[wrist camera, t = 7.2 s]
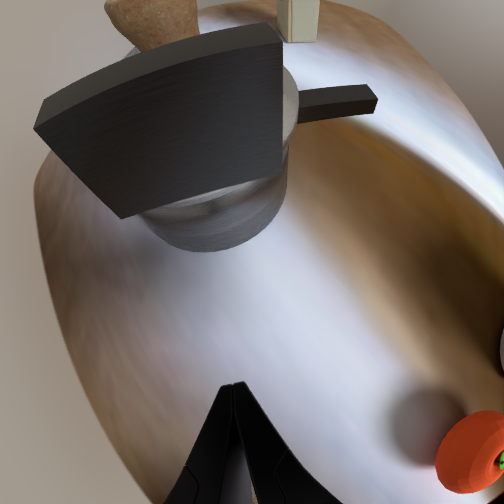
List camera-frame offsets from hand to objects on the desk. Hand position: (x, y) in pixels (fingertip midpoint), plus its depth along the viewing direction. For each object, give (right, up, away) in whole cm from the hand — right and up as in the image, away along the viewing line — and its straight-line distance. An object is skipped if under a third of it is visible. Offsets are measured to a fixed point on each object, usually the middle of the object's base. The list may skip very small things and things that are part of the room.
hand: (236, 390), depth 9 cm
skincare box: (+7, +36, +24) cm, 44 cm away
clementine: (+18, -11, +6) cm, 22 cm away
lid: (-4, +14, +8) cm, 16 cm away
